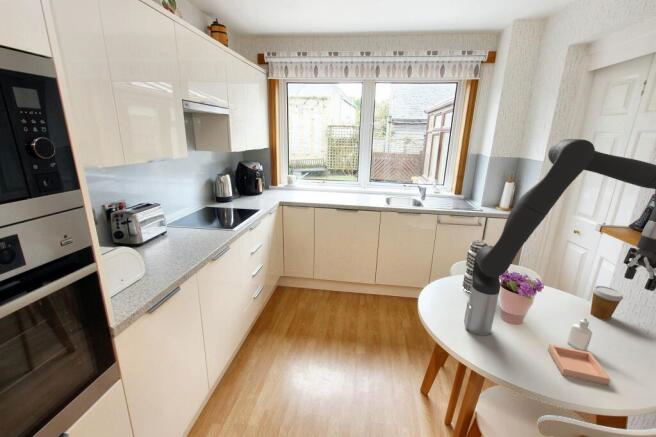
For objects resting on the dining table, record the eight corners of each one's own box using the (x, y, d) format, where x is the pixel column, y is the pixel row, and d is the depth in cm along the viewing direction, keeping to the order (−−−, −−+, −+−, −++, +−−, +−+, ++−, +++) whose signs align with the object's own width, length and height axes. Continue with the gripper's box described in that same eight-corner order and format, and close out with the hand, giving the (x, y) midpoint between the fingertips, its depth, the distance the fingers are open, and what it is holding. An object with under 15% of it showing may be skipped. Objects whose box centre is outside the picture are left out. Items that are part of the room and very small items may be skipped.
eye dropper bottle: (577, 351, 104) (586, 322, 101) (564, 341, 109) (573, 313, 106) (589, 352, 104) (599, 322, 101) (576, 341, 109) (585, 313, 106)
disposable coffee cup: (620, 320, 123) (629, 295, 120) (605, 324, 120) (614, 298, 117) (594, 308, 132) (602, 284, 128) (580, 311, 129) (587, 286, 126)
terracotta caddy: (561, 375, 93) (563, 368, 93) (547, 350, 104) (549, 344, 104) (608, 385, 90) (610, 379, 89) (588, 358, 101) (590, 352, 100)
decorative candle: (481, 296, 138) (491, 247, 131) (459, 291, 142) (468, 242, 136) (482, 288, 145) (492, 241, 138) (462, 283, 150) (470, 237, 143)
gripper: (627, 229, 99) (609, 273, 103) (664, 241, 86) (642, 291, 90) (653, 233, 98) (634, 277, 102) (695, 246, 84) (671, 297, 88)
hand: (638, 284), depth 96 cm, fingers open, 8 cm apart
